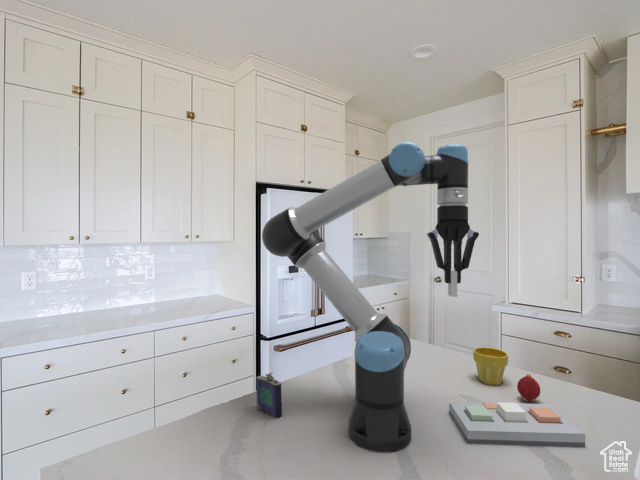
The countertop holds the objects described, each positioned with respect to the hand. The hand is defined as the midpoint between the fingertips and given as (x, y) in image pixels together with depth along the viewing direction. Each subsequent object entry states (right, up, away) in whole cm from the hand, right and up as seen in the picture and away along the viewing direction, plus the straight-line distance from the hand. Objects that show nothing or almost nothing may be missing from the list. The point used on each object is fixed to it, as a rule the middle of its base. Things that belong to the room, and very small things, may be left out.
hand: (452, 295), depth 91 cm
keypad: (+13, -32, -4) cm, 35 cm away
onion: (+26, -32, +10) cm, 43 cm away
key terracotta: (+21, -31, -5) cm, 38 cm away
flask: (-49, -33, +4) cm, 59 cm away
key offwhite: (+13, -30, -4) cm, 33 cm away
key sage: (+5, -31, -4) cm, 32 cm away
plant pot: (+22, -32, +24) cm, 46 cm away
